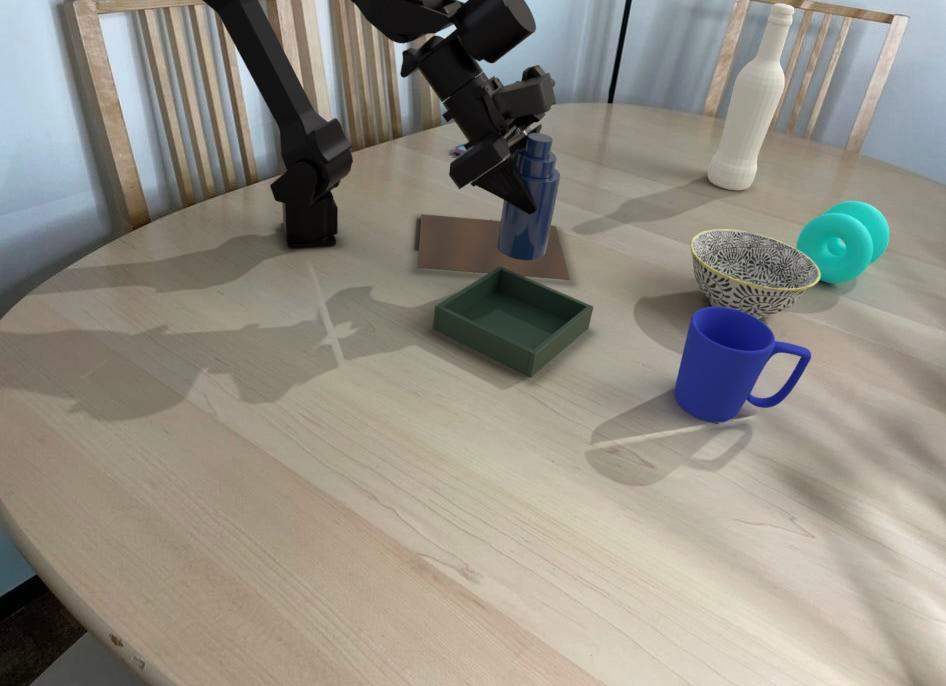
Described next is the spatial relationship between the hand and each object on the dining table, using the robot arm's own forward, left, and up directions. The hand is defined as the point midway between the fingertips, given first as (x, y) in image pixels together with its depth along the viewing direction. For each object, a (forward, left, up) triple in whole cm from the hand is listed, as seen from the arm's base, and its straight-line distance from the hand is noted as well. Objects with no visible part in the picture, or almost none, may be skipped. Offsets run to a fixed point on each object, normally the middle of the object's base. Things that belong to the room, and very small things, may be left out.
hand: (540, 202), depth 87 cm
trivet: (0, +12, -13) cm, 18 cm away
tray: (-5, -8, -13) cm, 16 cm away
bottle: (+53, +30, -13) cm, 62 cm away
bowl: (+27, -8, -13) cm, 31 cm away
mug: (+12, -26, -13) cm, 31 cm away
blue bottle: (-1, +1, -6) cm, 7 cm away
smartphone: (+13, +43, -13) cm, 47 cm away
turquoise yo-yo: (+48, -2, -13) cm, 50 cm away
